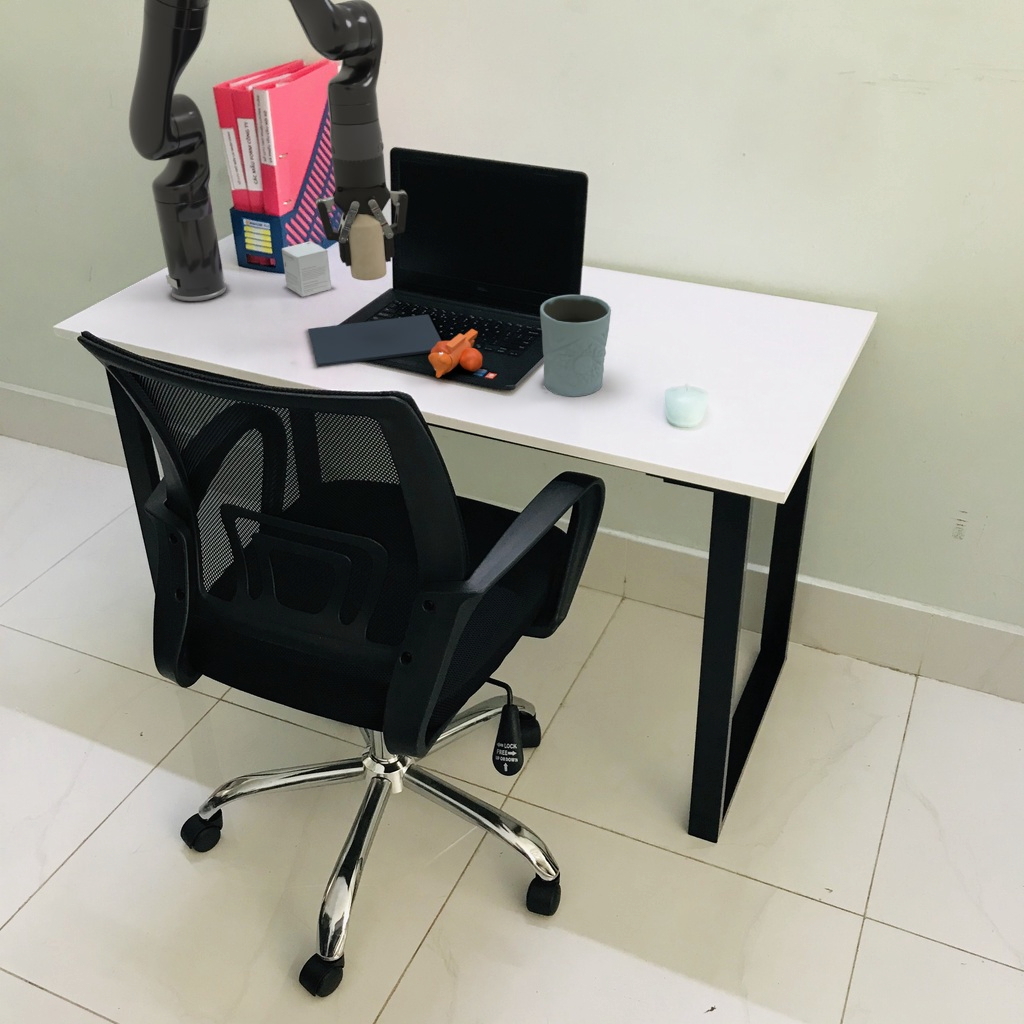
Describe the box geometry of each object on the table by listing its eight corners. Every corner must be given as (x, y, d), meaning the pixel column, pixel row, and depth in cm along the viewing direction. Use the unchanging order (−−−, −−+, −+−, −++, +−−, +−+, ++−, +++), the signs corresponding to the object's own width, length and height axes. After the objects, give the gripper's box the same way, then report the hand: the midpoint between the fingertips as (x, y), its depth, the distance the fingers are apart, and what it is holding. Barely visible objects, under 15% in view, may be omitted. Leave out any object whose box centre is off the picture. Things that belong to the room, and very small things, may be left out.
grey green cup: (560, 363, 171) (561, 289, 164) (620, 377, 166) (623, 301, 160) (527, 390, 163) (526, 313, 157) (589, 405, 159) (591, 327, 152)
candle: (380, 281, 170) (375, 217, 165) (346, 279, 171) (339, 215, 166) (391, 269, 175) (386, 206, 169) (357, 267, 176) (351, 204, 170)
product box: (285, 287, 199) (280, 247, 195) (316, 279, 202) (311, 240, 198) (302, 297, 195) (296, 257, 191) (332, 289, 198) (328, 249, 194)
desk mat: (308, 331, 183) (308, 328, 183) (428, 317, 187) (428, 314, 187) (317, 366, 171) (317, 363, 171) (445, 350, 175) (445, 347, 175)
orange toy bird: (461, 315, 172) (423, 345, 163) (503, 337, 171) (466, 369, 162) (454, 342, 176) (415, 373, 167) (494, 364, 174) (458, 396, 165)
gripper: (401, 140, 167) (409, 249, 177) (305, 148, 165) (318, 259, 174) (410, 153, 161) (418, 265, 170) (310, 162, 158) (323, 276, 168)
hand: (367, 261), depth 172 cm, fingers closed on candle, 5 cm apart
